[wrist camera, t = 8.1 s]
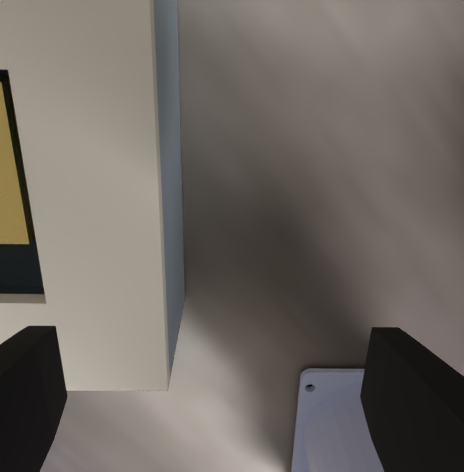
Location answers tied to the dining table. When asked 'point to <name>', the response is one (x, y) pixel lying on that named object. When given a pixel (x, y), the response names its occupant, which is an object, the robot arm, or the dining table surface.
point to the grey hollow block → (98, 186)
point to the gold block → (12, 176)
